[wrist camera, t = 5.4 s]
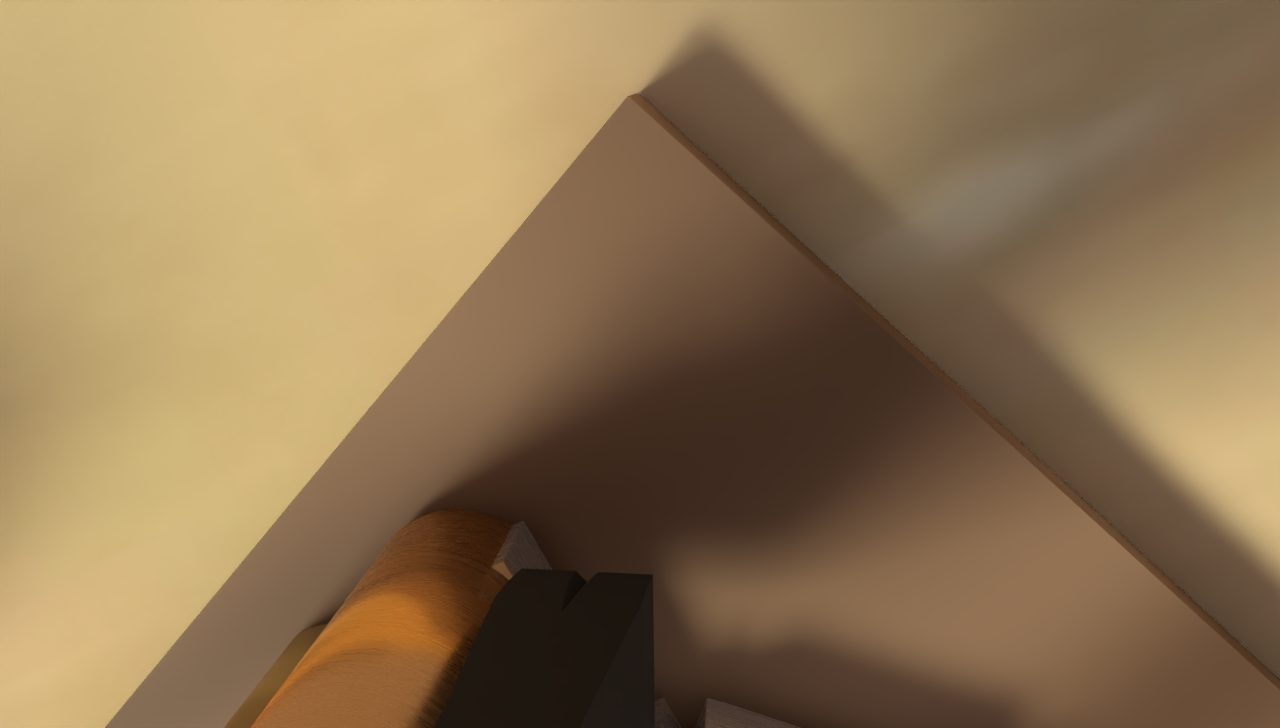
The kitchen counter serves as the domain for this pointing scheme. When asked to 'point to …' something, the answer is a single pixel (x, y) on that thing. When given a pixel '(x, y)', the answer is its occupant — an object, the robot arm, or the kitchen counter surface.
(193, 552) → the kitchen counter surface
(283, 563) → the peg base
